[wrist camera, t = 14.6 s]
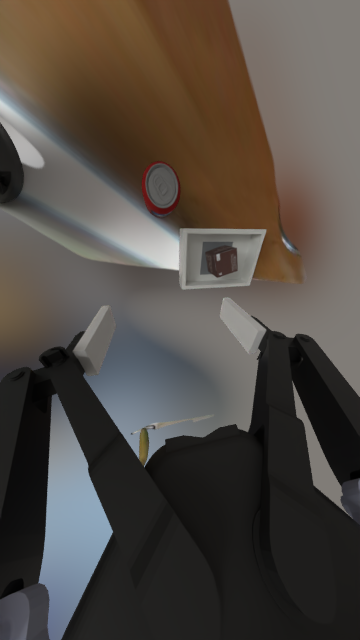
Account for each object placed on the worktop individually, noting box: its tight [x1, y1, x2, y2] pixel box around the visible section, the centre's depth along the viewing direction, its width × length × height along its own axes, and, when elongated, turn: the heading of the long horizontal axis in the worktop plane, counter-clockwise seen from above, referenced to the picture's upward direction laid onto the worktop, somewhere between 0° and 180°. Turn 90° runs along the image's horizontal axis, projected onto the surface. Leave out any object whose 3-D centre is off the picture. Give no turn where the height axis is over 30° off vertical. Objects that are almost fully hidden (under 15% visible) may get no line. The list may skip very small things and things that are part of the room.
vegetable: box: [139, 428, 149, 466], centre depth 91 cm, size 6×6×20 cm
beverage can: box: [142, 161, 180, 218], centre depth 27 cm, size 7×7×12 cm
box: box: [205, 245, 238, 278], centre depth 38 cm, size 6×6×7 cm
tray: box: [179, 228, 267, 289], centre depth 40 cm, size 22×15×5 cm
